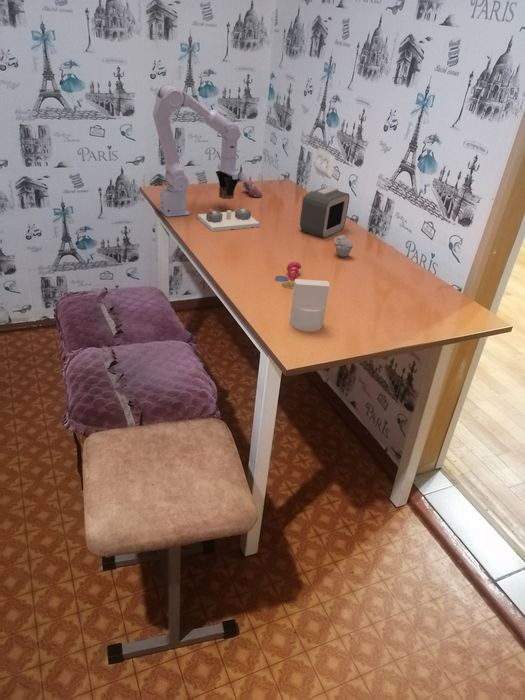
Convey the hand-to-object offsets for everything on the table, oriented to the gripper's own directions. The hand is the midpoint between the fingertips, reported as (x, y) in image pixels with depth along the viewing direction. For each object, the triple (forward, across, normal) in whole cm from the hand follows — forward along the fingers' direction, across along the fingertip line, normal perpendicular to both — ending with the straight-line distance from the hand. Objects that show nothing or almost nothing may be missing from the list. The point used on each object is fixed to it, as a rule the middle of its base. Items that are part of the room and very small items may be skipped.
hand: (226, 192), depth 220 cm
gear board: (+7, -14, +5) cm, 16 cm away
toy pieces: (+7, -64, +6) cm, 65 cm away
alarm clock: (+7, -29, -26) cm, 40 cm away
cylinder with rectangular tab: (+7, -88, +16) cm, 90 cm away
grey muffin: (+7, -52, -20) cm, 56 cm away
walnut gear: (+2, 0, 0) cm, 2 cm away
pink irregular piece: (+7, +15, -19) cm, 25 cm away
